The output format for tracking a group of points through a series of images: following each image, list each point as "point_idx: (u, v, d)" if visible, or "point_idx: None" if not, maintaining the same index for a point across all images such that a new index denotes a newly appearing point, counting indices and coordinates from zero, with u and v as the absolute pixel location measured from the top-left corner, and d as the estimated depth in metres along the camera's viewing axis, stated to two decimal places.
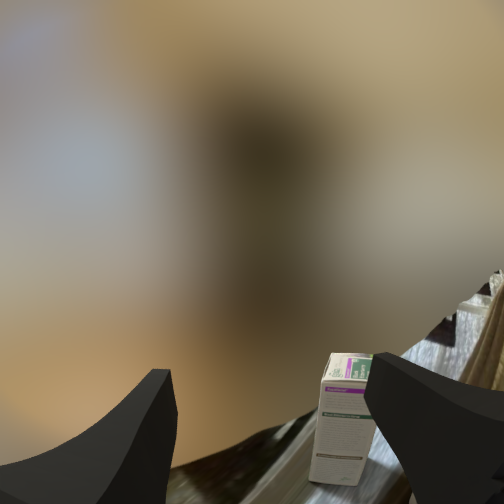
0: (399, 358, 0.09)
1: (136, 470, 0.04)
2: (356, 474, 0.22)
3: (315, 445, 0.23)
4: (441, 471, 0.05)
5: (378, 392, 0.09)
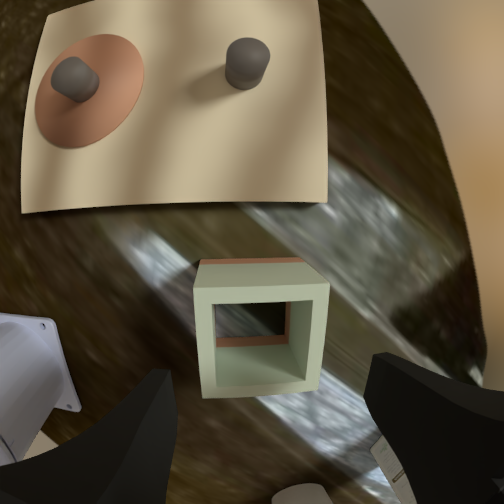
0: (399, 358, 0.09)
1: (136, 470, 0.04)
2: (381, 462, 0.19)
3: None
4: (441, 471, 0.05)
5: (378, 392, 0.09)
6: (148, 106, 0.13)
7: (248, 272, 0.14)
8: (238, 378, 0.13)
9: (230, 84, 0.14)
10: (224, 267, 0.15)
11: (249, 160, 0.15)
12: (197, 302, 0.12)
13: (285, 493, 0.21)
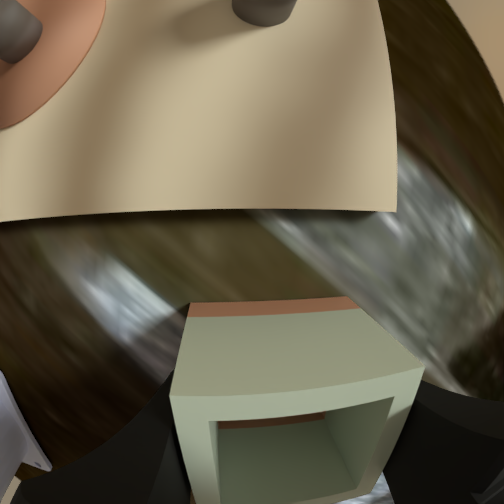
0: None
1: (170, 473, 0.05)
2: None
3: None
4: (420, 481, 0.05)
5: None
6: (106, 55, 0.07)
7: (275, 341, 0.07)
8: (255, 491, 0.07)
9: (240, 17, 0.07)
10: (230, 326, 0.08)
11: (273, 136, 0.08)
12: (180, 418, 0.05)
13: None
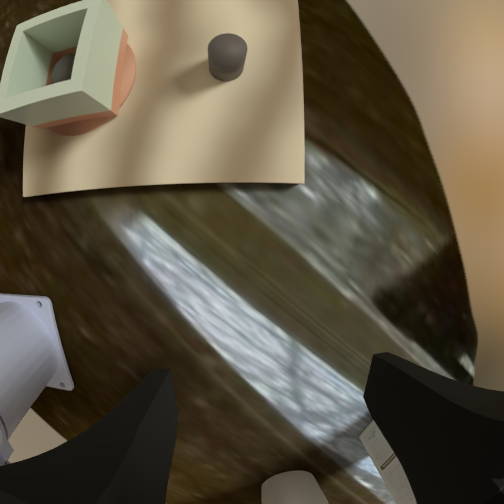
0: (399, 358, 0.09)
1: (136, 470, 0.04)
2: (370, 448, 0.20)
3: None
4: (441, 471, 0.05)
5: (378, 392, 0.09)
6: (139, 98, 0.14)
7: None
8: None
9: (213, 76, 0.15)
10: None
11: (230, 144, 0.16)
12: (15, 32, 0.08)
13: (274, 480, 0.22)
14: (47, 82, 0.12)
